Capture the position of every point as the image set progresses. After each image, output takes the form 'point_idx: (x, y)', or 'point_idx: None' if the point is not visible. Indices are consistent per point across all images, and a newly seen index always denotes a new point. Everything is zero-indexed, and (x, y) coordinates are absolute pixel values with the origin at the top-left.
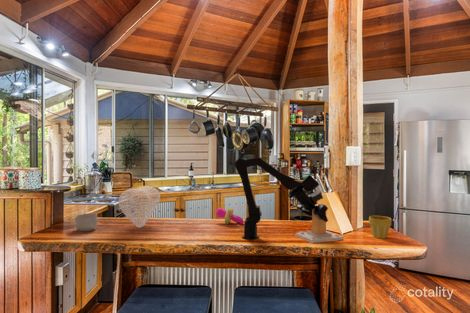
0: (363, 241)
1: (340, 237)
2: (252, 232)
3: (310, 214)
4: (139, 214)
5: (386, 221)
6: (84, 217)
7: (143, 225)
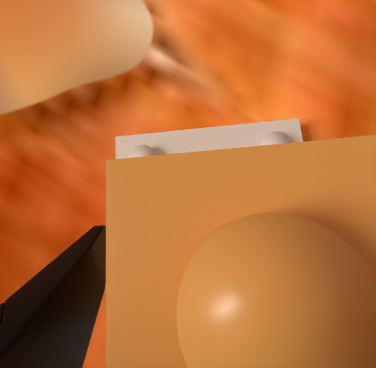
0: (341, 42)
1: (301, 138)
2: None
3: (73, 350)
4: None
5: None
6: None
7: None
